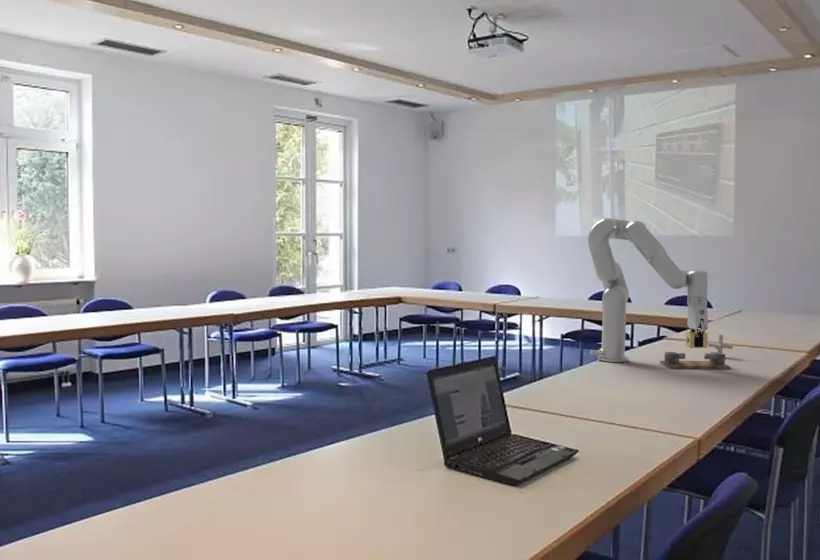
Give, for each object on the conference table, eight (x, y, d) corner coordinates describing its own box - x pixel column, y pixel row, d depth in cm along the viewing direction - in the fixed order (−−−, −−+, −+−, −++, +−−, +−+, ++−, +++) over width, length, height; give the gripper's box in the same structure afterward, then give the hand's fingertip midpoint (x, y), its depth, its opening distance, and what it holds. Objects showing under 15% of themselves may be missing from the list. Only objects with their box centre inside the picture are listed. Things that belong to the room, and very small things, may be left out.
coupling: (702, 346, 303) (703, 331, 303) (707, 347, 299) (707, 333, 298) (685, 346, 303) (685, 331, 303) (689, 348, 298) (690, 333, 298)
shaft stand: (670, 368, 295) (670, 355, 295) (659, 363, 307) (660, 350, 307) (730, 369, 296) (730, 356, 295) (717, 363, 308) (717, 351, 307)
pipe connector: (728, 359, 318) (729, 336, 317) (704, 357, 324) (705, 334, 323) (734, 356, 326) (735, 334, 325) (711, 354, 332) (712, 332, 331)
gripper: (715, 303, 291) (714, 349, 292) (697, 299, 308) (697, 342, 309) (696, 303, 291) (695, 349, 292) (680, 299, 308) (679, 343, 309)
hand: (696, 345), depth 301 cm, fingers closed on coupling, 4 cm apart
